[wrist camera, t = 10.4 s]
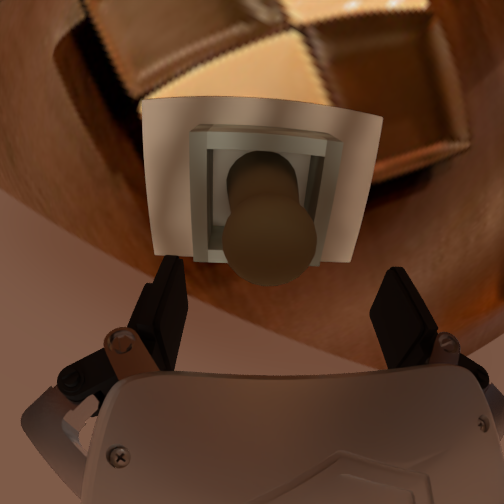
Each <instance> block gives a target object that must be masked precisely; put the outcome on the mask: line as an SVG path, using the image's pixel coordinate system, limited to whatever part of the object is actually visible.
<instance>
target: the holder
mask: <svg viewBox="0 0 504 504" xmlns="http://www.w3.org/2000/svg"><path fill="white" fill-rule="evenodd" d="M382 121H383V117H380V116H376V115H372V114H368V113H363V112H359V111H354V110H349V109H344V108H338V107H332V106H326V105H320V104H313V103H306V102H298V101H290V100H280V99H268V98H253V97H227V96H198V97H173V98H158V99H147V100H142V128H143V150H144V166H145V178H146V190H147V200H148V209H149V217H150V225H151V233H152V240H153V247H154V253H155V255H178V256H191V257H193V258H194V262H216V263H228V262H227V259H226V257H225V255H224V252H223V244H222V235H223V230H224V227H225V224H226V221H227V218H228V217H229V216H230V214H231V211H230V205H229V200H228V194H227V185H226V179H227V175H228V172H229V169H230V168H231V166H232V165H233V164H234V162H235V161H236V160H237V159H238V158H240V157H241V156H243V155H244V154H246V153H249V152H252V151H271V152H275V153H278V154H280V155H281V156H283V157H284V158H285V159H287V160H288V161H289V162H290V164H291V165H292V167H293V168H294V170H295V173H296V177H297V182H298V192H299V202H300V205H301V206H302V207H304V208H305V210H306V211H307V212H308V214H309V215H310V217H311V218H312V220H313V222H314V225H315V229H316V234H317V245H316V252H315V256H314V258H313V259H312V261H311V263H310V265H309V266H319V265H320V261H322V262H350V261H351V258H352V254H353V251H354V247H355V244H356V240H357V237H358V233H359V229H360V226H361V222H362V218H363V214H364V210H365V206H366V202H367V198H368V194H369V189H370V185H371V180H372V176H373V171H374V166H375V161H376V156H377V151H378V145H379V140H380V134H381V128H382Z"/></svg>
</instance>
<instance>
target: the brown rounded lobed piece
mask: <svg viewBox="0 0 504 504" xmlns="http://www.w3.org/2000/svg"><path fill="white" fill-rule="evenodd" d="M226 185H227V194H228V200H229V205H230V211H231V214H230V216H229V217H228V218H227V221H226V224H225V227H224V230H223V235H222V244H223V252H224V255H225V257H226V259H227V262H228V264H229V266H230V267H231V268H232V269H233V270H234V271H235V272H236V273H237V274H238V275H239V276H240V277H241V278H243V279H245V280H247V281H248V282H250V283H252V284H257V285H261V286H278V285H282V284H285V283H288V282H290V281H292V280H294V279H296V278H298V277H299V276H300V275H301V274H302V273H303V272H304V271H305V270H306V269H307V268H308V267H309V265H310V263H311V261H312V259H313V258H314V256H315V252H316V245H317V234H316V229H315V225H314V222H313V220H312V218H311V217H310V215H309V214H308V212H307V211H306V210H305V208H304V207H302V206H301V205H300V202H299V192H298V182H297V177H296V173H295V170H294V168H293V167H292V165H291V164H290V162H289V161H288V160H287V159H285V158H284V157H283V156H281V155H280V154H278V153H275V152H271V151H252V152H249V153H246V154H244V155H243V156H241V157H240V158H238V159H237V160H236V161H235V162H234V164H233V165H232V166H231V168H230V169H229V172H228V175H227V179H226Z"/></svg>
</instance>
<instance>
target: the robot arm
mask: <svg viewBox="0 0 504 504" xmlns="http://www.w3.org/2000/svg"><path fill="white" fill-rule="evenodd" d="M187 311H188V299H187V291H186V283H185V274H184V264H183V259H179V256H178V255H165V256H164V258H163V261H162V263H161V265H160V267H159V270H158V272H157V274H156V276H155V279H154V281H153V283H146V284H145V286H144V288H143V290H142V292H141V295H140V297H139V300H138V302H137V304H136V306H135V309H134V311H133V313H132V316H131V318H130V321H129V323H128V326H127V327H120V328H116V329H114V330H112V331H110V332H109V333H108V334H107V336H106V337H105V339H104V348H102V349H100V350H98V351H96V352H94V353H92V354H90V355H89V356H86V357H84V358H83V359H81V360H79V361H77V362H75V363H73V364H71V365H69V366H67V367H65V368H64V369H63V370H62V371H61V372H60V373H59V376H58V379H57V385H56V386H55V387H54V388H52V386H51V387H49V388H48V389H47V390H46V391H45V392H44V393H43V394H42V395H41V396H40V397H39V398H38V399H37V400H36V401H35V402H34V403H33V404H32V405H30V406H29V407H28V408H27V409H26V410H25V412H24V413H23V414H22V417H21V426H22V428H23V430H24V432H25V433H26V435H27V436H28V438H29V439H30V440H31V442H32V443H33V445H34V446H35V447H36V449H37V450H38V451H39V453H40V454H41V455H42V456H43V458H44V459H45V460H46V462H47V463H48V464H49V465H50V467H51V468H52V469H53V470H54V471H55V473H56V474H57V475H58V476H59V477H60V478H61V479H62V481H63V482H64V483H65V484H66V485H67V486H68V487H69V488H70V489H71V490H72V491H73V492H74V493H75V494H76V495H77V496H78V497H79V498H80V499H81V504H504V459H503V453H502V448H501V444H500V441H501V439H502V437H503V435H504V396H503V395H502V393H501V392H500V391H499V390H498V389H497V388H496V387H495V386H494V384H493V383H491V384H489V376H488V373H487V372H486V370H485V369H484V368H483V367H482V366H480V365H478V364H477V363H475V362H474V361H472V360H471V359H469V358H467V357H466V356H464V355H463V354H461V353H460V344H459V342H458V340H457V339H456V337H455V336H453V335H452V334H450V333H448V332H440V333H439V334H438V333H437V330H438V327H437V325H436V323H435V321H434V319H433V317H432V315H431V314H430V312H429V310H428V308H427V306H426V305H425V303H424V301H423V299H422V298H421V296H420V294H419V292H418V291H417V289H416V287H415V286H414V284H413V282H412V281H411V279H410V278H409V276H408V274H407V273H406V271H405V270H404V268H403V267H391V268H390V269H389V270H387V272H386V274H385V276H384V279H383V281H382V284H381V286H380V288H379V291H378V293H377V295H376V298H375V300H374V302H373V305H372V307H371V309H370V319H371V321H372V324H373V327H374V329H375V332H376V335H377V337H378V340H379V343H380V346H381V349H382V352H383V355H384V358H385V360H386V363H387V367H388V369H387V370H378V371H368V372H357V373H346V374H345V373H344V374H328V375H297V376H266V375H235V374H216V373H202V372H185V371H174V369H175V364H176V359H177V355H178V350H179V346H180V341H181V337H182V333H183V328H184V324H185V320H186V316H187ZM95 416H98V417H97V420H96V423H95V426H94V430H93V434H92V438H91V442H90V446H89V451H88V452H87V451H86V450H85V449H84V448H83V447H82V445H81V444H80V442H79V438H78V437H79V432H80V431H81V429H82V428H83V427H84V426H85V425H86V423H85V421H86V420H87V419H88V418H89V417H95ZM128 450H129V451H128ZM115 467H116V468H115Z"/></svg>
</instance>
